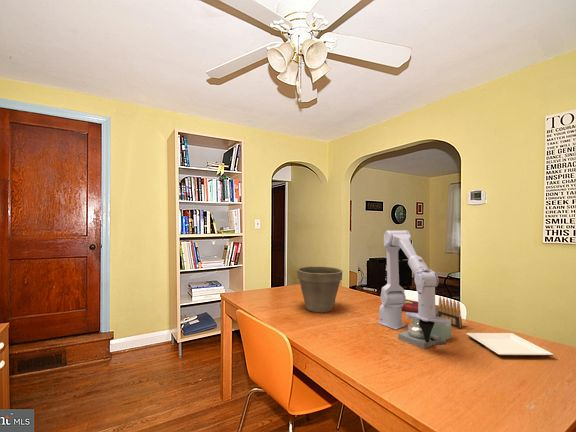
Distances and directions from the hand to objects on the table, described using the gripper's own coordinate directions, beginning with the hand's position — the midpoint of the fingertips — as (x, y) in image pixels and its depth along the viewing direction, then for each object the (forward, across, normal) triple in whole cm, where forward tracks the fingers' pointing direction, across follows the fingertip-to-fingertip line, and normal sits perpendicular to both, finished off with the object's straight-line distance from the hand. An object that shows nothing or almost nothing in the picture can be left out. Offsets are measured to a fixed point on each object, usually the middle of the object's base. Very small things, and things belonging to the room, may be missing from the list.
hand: (427, 341), depth 104 cm
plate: (+3, +24, +19) cm, 30 cm away
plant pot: (+3, -58, +21) cm, 61 cm away
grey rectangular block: (+3, -3, +11) cm, 11 cm away
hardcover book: (+4, -14, +47) cm, 49 cm away
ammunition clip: (+3, +3, +34) cm, 34 cm away
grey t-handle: (+1, -1, +4) cm, 4 cm away
